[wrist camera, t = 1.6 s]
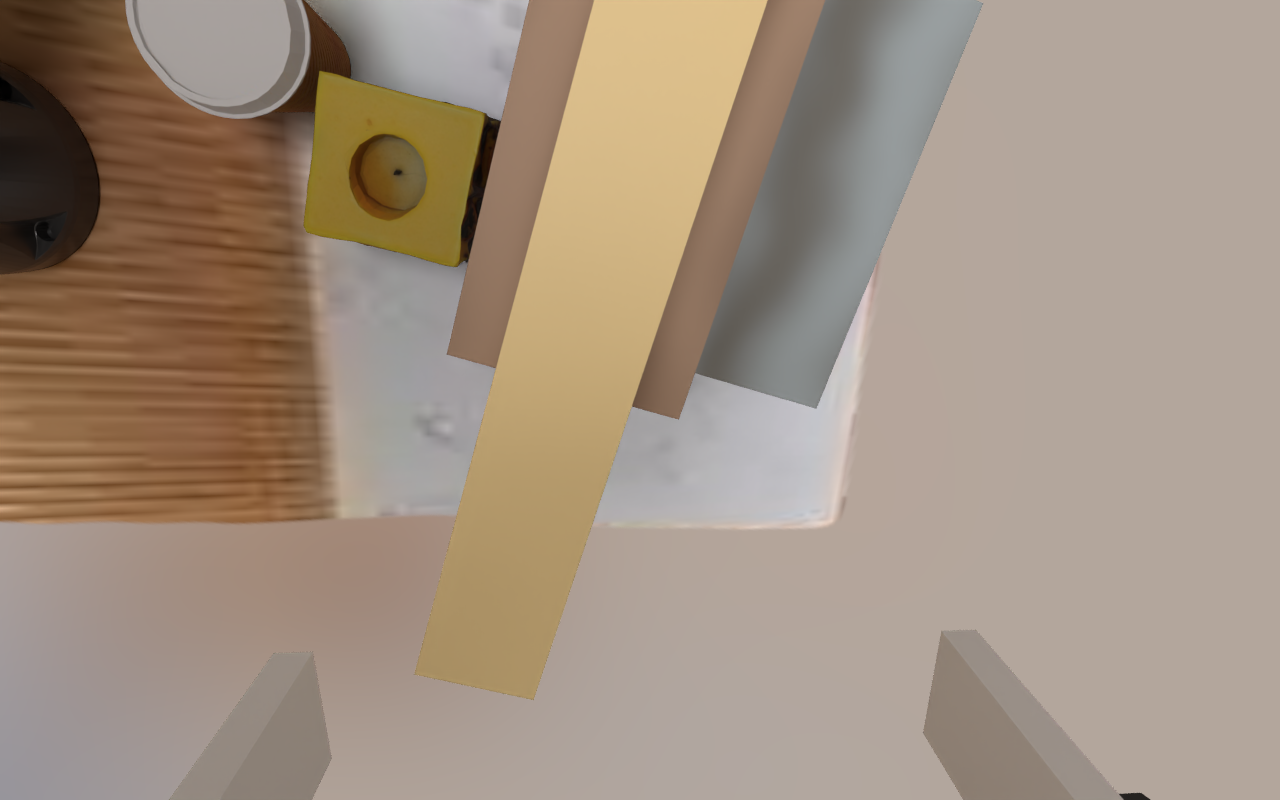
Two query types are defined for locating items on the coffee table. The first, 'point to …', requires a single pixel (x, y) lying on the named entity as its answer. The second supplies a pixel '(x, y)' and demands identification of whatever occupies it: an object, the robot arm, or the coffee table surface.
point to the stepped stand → (743, 189)
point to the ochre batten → (583, 325)
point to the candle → (397, 170)
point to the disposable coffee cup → (238, 52)
